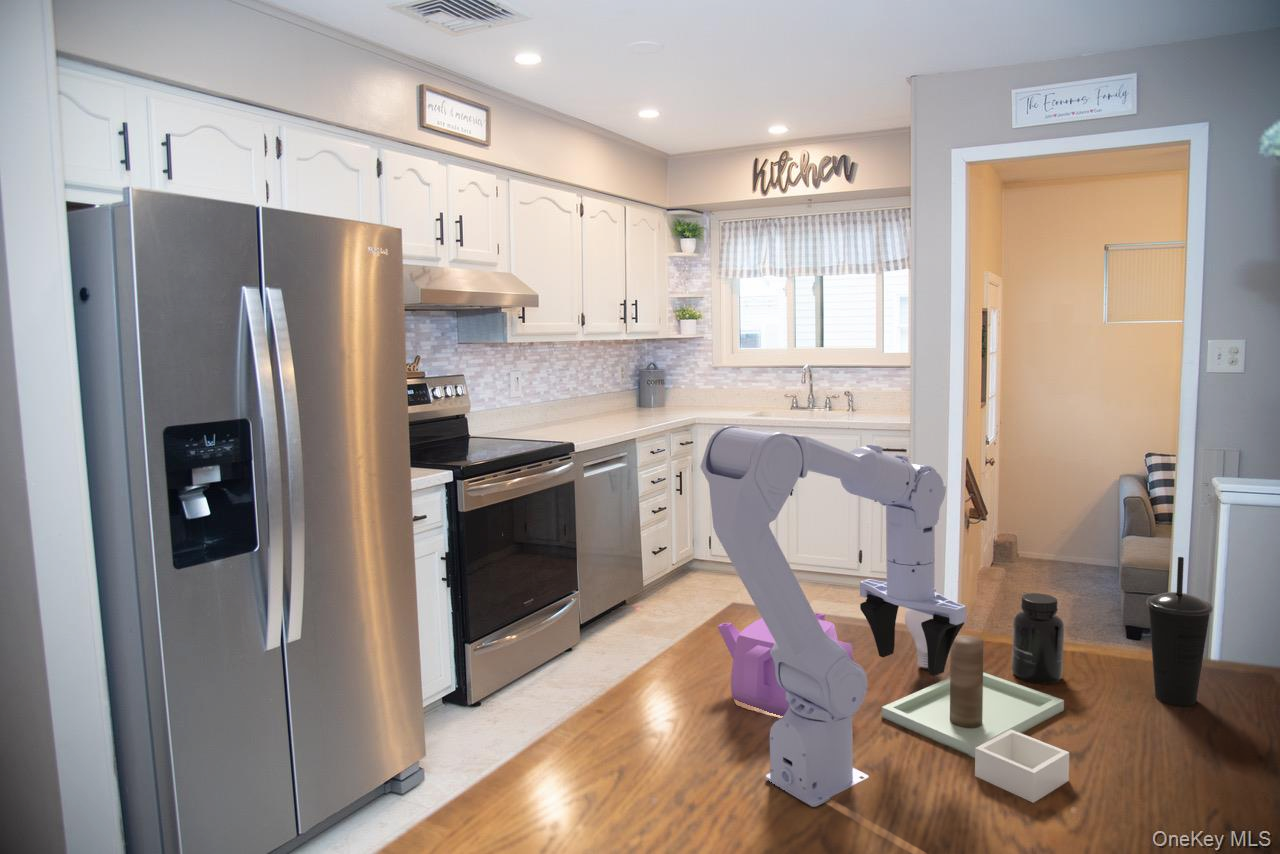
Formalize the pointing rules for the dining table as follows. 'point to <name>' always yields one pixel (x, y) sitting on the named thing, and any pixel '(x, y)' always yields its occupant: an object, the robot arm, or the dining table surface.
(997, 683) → the tray
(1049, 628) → the supplement bottle
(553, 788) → the dining table surface
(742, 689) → the teakettle
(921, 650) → the lightbulb
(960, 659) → the walnut dowel
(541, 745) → the dining table surface
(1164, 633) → the drinking cup
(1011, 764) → the square cup
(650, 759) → the dining table surface
